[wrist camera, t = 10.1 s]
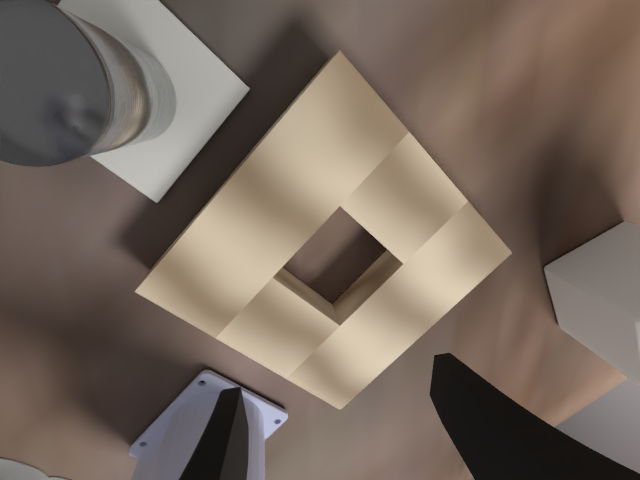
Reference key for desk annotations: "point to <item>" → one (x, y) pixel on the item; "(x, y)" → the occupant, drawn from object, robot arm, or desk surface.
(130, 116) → the end cover
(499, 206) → the desk surface
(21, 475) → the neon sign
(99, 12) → the mat
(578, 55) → the desk surface
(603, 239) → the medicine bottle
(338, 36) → the desk surface
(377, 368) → the bore block
